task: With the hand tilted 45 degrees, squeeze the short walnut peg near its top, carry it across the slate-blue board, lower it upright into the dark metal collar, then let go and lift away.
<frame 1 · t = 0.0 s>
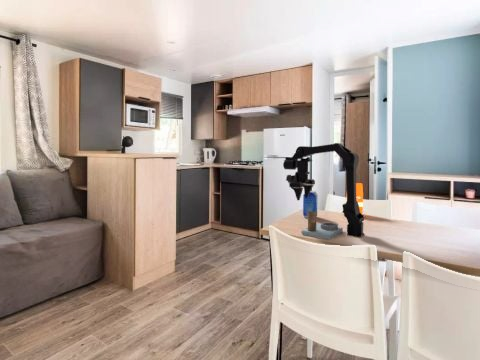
hand: (302, 199, 162), 15 cm above the table, tool pointing down, fingers open, 9 cm apart
orange juice: (353, 214, 191), on the table
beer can: (310, 217, 184), on the table
walnut peg: (312, 230, 147), point 2 cm above the table, touching slate board
slate board: (322, 232, 150), on the table
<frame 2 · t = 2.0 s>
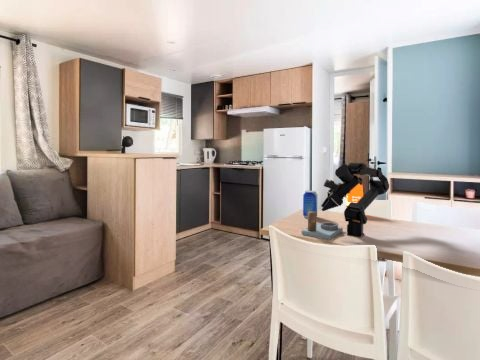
hand: (322, 208, 145), 13 cm above the table, tool tilted 45°, fingers open, 9 cm apart
nothing on the table moved.
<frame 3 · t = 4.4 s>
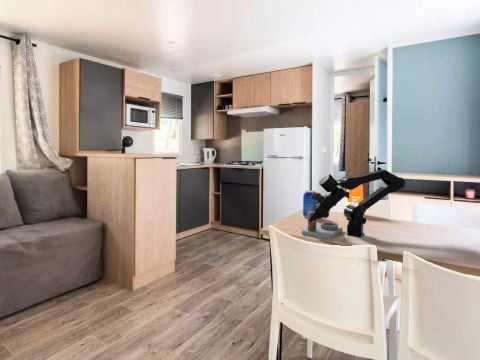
hand: (309, 220, 147), 7 cm above the table, tool tilted 45°, fingers closed on walnut peg, 4 cm apart
walnut peg: (312, 230, 147), point 2 cm above the table, touching gripper, slate board
everything else where it was.
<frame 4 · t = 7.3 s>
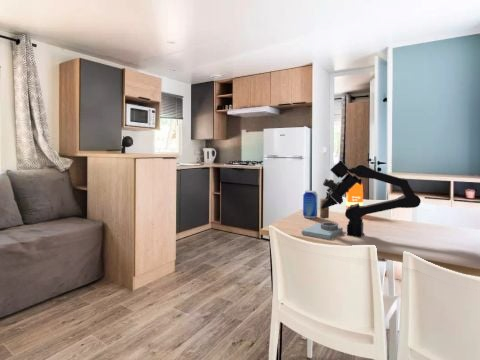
hand: (321, 207, 148), 13 cm above the table, tool tilted 45°, fingers closed on walnut peg, 4 cm apart
walnut peg: (324, 217, 149), point 8 cm above the table, touching gripper
everything else where it was.
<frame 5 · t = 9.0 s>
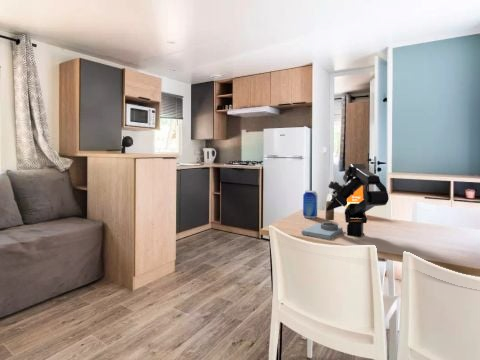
hand: (326, 209, 150), 12 cm above the table, tool tilted 45°, fingers closed on walnut peg, 4 cm apart
walnut peg: (329, 219, 150), point 6 cm above the table, touching gripper
everything else where it was.
when the fingers open (8 cm above the table, at t = 10.3 s): walnut peg stays where it is, resting on slate board.
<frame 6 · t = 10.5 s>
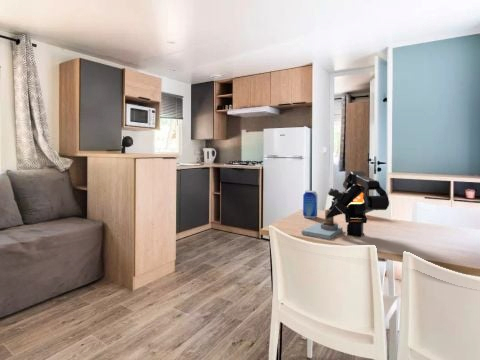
hand: (326, 216, 151), 8 cm above the table, tool tilted 45°, fingers open, 6 cm apart
walnut peg: (329, 228, 151), point 2 cm above the table, touching slate board
everything else where it was.
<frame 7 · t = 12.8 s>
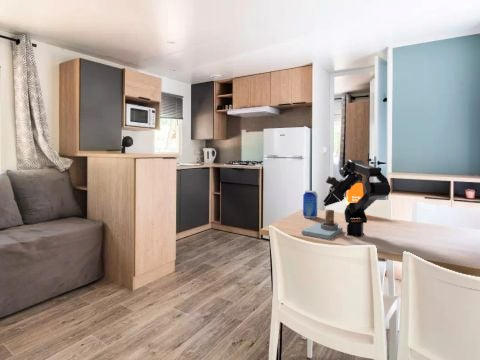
hand: (324, 203, 153), 14 cm above the table, tool tilted 45°, fingers open, 9 cm apart
nothing on the table moved.
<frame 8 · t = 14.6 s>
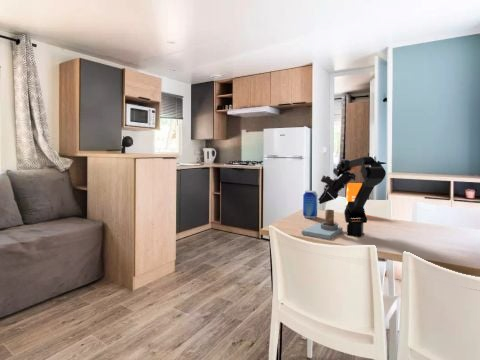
hand: (319, 201, 160), 14 cm above the table, tool tilted 45°, fingers open, 9 cm apart
nothing on the table moved.
at the end: walnut peg 0.2 cm from the target spot on the slate board, point 2.0 cm above the slate board's base; walnut peg tilted 1°; the gripper is holding nothing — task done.
